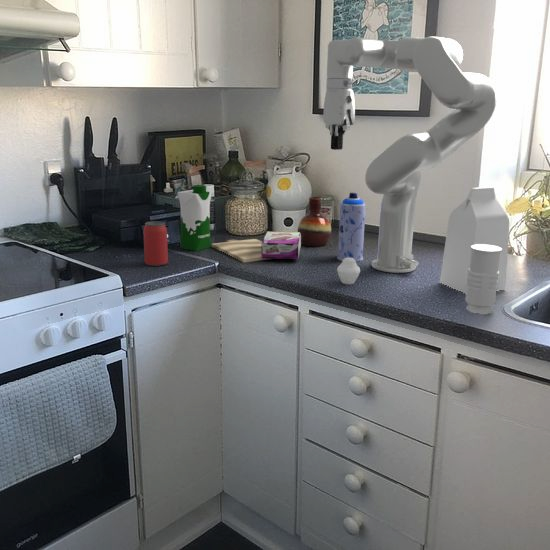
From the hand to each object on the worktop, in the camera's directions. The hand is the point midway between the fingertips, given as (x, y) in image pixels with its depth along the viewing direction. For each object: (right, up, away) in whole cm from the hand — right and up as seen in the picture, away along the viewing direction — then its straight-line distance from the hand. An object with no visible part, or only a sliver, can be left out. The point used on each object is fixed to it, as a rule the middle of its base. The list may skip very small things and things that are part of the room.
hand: (336, 149), depth 186 cm
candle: (+29, -46, -41) cm, 68 cm away
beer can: (-53, -35, -7) cm, 63 cm away
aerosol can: (+4, -33, +3) cm, 33 cm away
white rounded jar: (+1, -40, -21) cm, 45 cm away
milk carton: (-44, -29, +13) cm, 54 cm away
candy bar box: (-17, -31, -4) cm, 35 cm away
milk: (+33, -41, -23) cm, 58 cm away
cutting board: (-27, -30, +10) cm, 42 cm away
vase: (-5, -28, +21) cm, 35 cm away
